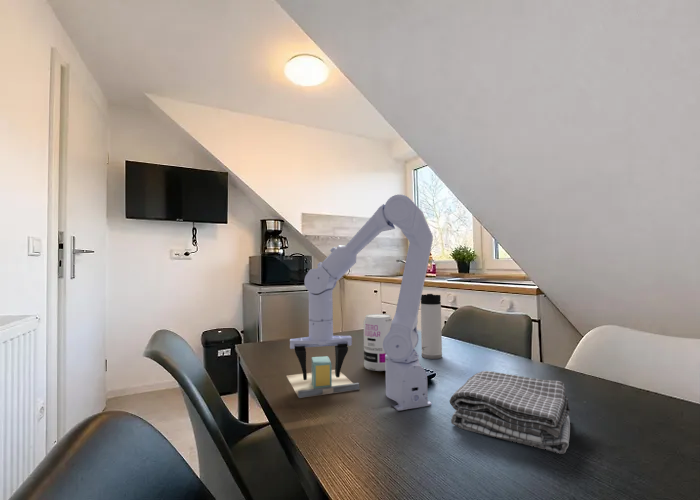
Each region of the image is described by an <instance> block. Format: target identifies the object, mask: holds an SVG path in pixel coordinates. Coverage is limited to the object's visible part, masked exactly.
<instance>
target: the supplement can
mask: <svg viewBox="0 0 700 500" xmlns="http://www.w3.org/2000/svg"><path fill="white" fill-rule="evenodd" d="M392 321H393V318H392V316H391V314H387V313H369V314H366V315H365V318H364V320H363V367H364V368H365V369H367V370H369V371H374V372H375V371H377V372H383V371H384V372H386V371H385V355H386V353H385V351H384V349H383V341H384V338H385V336H386V335H387V334H388V333H389V331H390V328H391V324H392Z"/></svg>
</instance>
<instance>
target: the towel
mask: <svg viewBox="0 0 700 500" xmlns="http://www.w3.org/2000/svg"><path fill="white" fill-rule="evenodd" d="M449 403H450V405H451V407H452V408H453V409H454V410H455V411H454V412H453V414H452V416H451V419H450V421H451V422H450V423H451V425H453V426H455V427H458V428H459V429H462V430H463V431H464V430H465V431H469V432H472V433H476V434H480V435H483V434H484V436H488V437H493V438H495V437H496V439H500V440H505V441H509V442H512V441H513V443H516V442H517V444H523V445H525V446H531V447H533V446H534V448H538V449H542V450H545V449H546V450H545V451H550V452H552V453H555V452H556V453H555V454H558V453H559V455H564V454H565V453H566V451H567V449H568V448H569V445H570V443H569V442H570V434H571V424H570V423H571V422H570V421H571V420H570V419H571V418H570V412H571V411H572V410H571V408H570V405H569V404H570V403H569V396H568V395H566V385H565V384H564V382H562V381H559V380H548V379H541V378H533V377H526V376H520V375H514V374H509V373H508V374H507V373H504V372H502V373H501V372H495V371H491V370H490V371H489V370H482V371H479V372H477V373H475V374H473V375H472V376H471V377H469V378H468V379H467V380H466V381H465V383H464V384H463V385H462V386H461V387H459V388H457V390H456V391H455V392H454V393H453V395H452V396H451V397H450V399H449Z"/></svg>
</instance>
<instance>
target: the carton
mask: <svg viewBox="0 0 700 500" xmlns="http://www.w3.org/2000/svg"><path fill="white" fill-rule="evenodd" d="M332 370H333V369H332V362H331V359H330V357H329V356H327V355H325V356H323V355H322V356H312V357H311V373H312V385H313V389H316V388H323V387H330V386H332Z"/></svg>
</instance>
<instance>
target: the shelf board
mask: <svg viewBox="0 0 700 500" xmlns="http://www.w3.org/2000/svg"><path fill="white" fill-rule="evenodd" d="M331 370H332V386H330V387H323V388H316V389H313V385H312V372H307V380H304V379H303V373H296V374H290V375H286V378H287V380H288V382H289V384H290V385H291V387H292V388H293V390H294V392H295V394H296V396H297V397H298V399H302V398H309V397H316V396H322V395H328V394H330V395H331V394H336V393H344V392H353V391H358V390H360V388H361V387H360V382H352V381H351V380H350V379H349V378H348V377H347V376H346V375H345V374H344V373H342V372H341V371H340V377H336V375H335V369H331Z"/></svg>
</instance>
